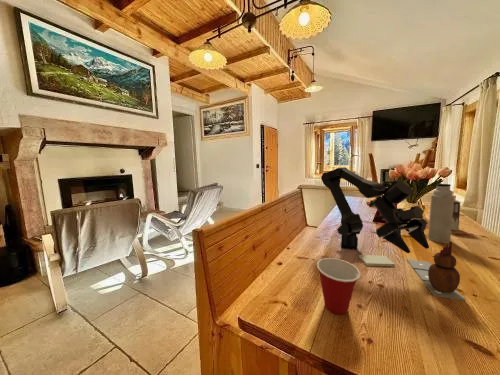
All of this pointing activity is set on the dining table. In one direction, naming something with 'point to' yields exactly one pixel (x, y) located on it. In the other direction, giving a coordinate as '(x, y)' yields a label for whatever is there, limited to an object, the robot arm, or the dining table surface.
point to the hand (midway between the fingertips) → (418, 250)
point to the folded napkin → (376, 260)
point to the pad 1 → (419, 264)
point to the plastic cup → (337, 283)
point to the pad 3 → (444, 293)
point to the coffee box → (455, 216)
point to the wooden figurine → (444, 271)
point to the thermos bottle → (441, 214)
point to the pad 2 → (422, 275)
